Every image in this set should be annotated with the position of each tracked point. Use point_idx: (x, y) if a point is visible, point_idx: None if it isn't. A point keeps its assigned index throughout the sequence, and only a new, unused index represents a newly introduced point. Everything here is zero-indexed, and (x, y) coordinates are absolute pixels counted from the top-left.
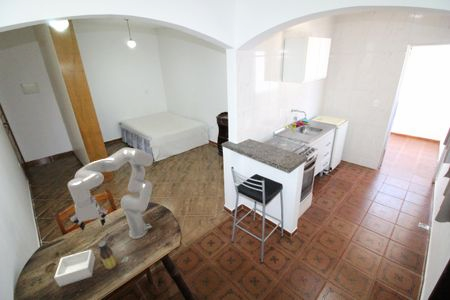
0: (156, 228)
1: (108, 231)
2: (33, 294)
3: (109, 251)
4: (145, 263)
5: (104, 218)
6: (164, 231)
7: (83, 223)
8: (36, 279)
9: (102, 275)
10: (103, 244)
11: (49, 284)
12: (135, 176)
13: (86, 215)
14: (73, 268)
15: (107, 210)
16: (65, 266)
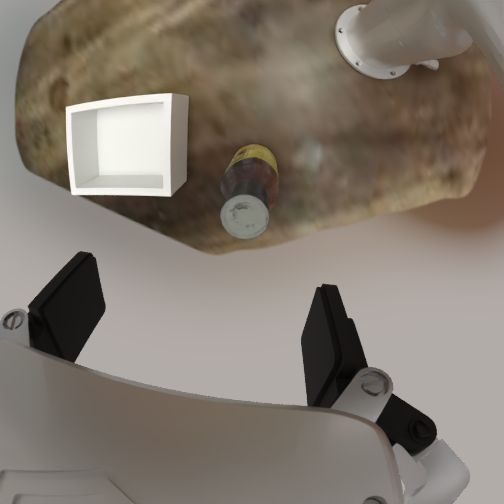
0: (440, 73)
1: None
2: (48, 178)
3: (271, 207)
4: (371, 215)
5: (362, 350)
6: (460, 111)
7: (68, 298)
8: (39, 130)
9: None
10: (253, 228)
11: None
12: None
13: None
14: (119, 125)
15: (465, 470)
16: (92, 114)
